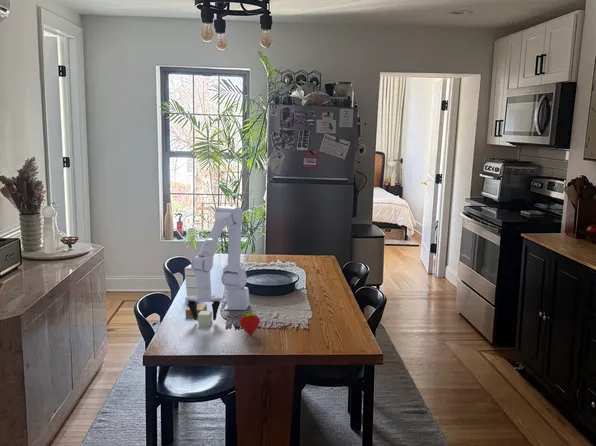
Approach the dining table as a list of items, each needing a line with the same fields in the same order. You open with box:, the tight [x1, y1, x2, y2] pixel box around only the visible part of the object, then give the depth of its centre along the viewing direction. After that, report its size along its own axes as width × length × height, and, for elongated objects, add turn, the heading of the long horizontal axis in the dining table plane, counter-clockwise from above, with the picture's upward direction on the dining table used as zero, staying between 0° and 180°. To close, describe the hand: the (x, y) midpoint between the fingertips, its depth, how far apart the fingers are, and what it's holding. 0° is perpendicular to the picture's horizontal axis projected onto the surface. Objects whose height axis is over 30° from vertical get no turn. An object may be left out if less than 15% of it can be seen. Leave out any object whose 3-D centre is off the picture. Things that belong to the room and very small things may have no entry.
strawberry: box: [239, 311, 261, 336], centre depth 190 cm, size 6×8×10 cm
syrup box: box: [184, 264, 196, 296], centre depth 236 cm, size 6×6×14 cm
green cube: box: [197, 310, 213, 326], centre depth 203 cm, size 4×4×4 cm
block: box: [185, 303, 208, 318], centre depth 214 cm, size 7×7×4 cm
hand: (205, 319), depth 203 cm, fingers open, 7 cm apart
